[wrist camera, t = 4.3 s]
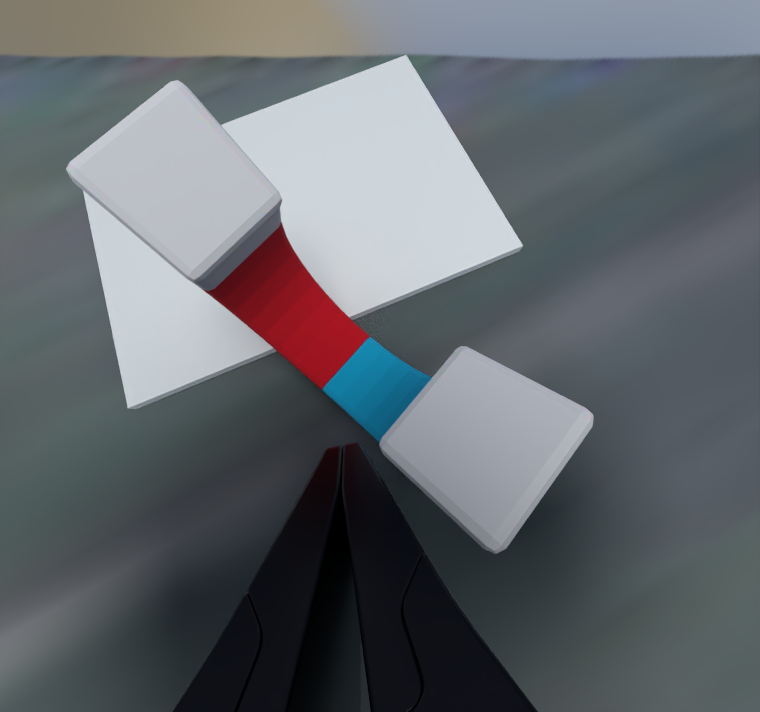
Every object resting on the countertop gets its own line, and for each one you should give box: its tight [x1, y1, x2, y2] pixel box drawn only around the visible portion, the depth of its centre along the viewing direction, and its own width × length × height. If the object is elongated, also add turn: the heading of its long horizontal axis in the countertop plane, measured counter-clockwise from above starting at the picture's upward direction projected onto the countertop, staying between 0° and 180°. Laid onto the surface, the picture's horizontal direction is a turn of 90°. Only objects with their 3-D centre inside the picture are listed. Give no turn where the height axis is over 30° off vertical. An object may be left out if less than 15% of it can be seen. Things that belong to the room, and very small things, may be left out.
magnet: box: [66, 80, 594, 554], centre depth 10 cm, size 12×3×10 cm, turn 49°
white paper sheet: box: [83, 55, 523, 409], centre depth 18 cm, size 14×20×1 cm
